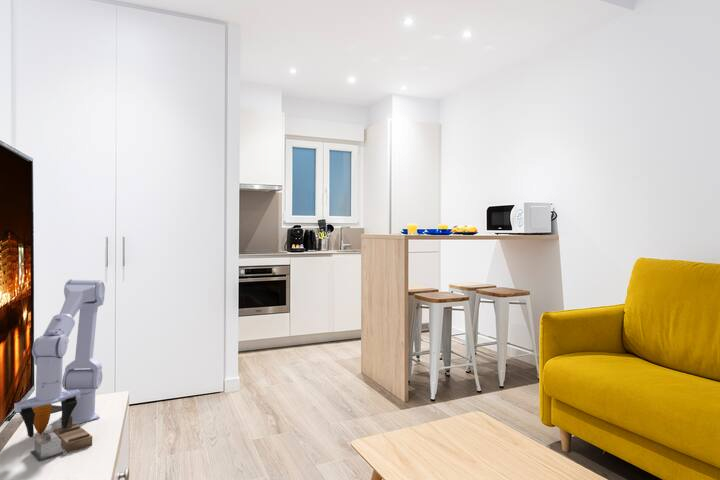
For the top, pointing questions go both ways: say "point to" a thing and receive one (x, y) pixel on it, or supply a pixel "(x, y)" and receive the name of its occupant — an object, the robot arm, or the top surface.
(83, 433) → the body
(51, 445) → the lever cap
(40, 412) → the carrot
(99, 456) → the top surface
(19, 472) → the top surface
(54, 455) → the rubber mat
